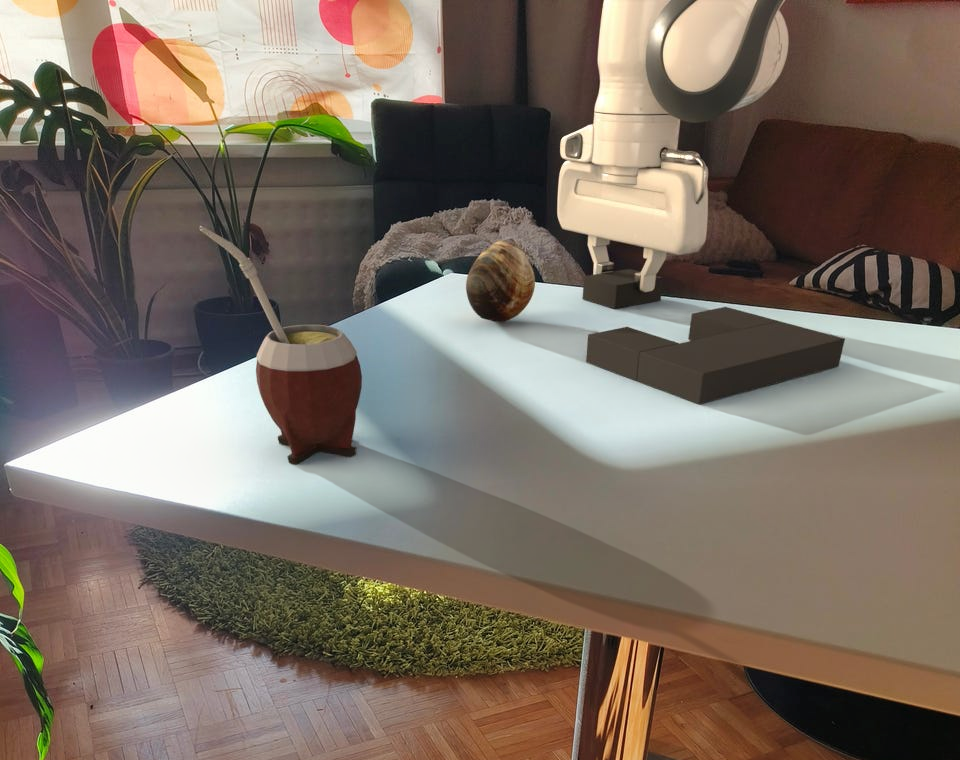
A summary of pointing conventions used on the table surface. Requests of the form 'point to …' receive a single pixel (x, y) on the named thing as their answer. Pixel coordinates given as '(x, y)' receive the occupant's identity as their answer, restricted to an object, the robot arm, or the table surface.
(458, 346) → the table surface
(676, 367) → the big pad
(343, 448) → the mate gourd
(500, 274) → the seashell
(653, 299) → the small block
